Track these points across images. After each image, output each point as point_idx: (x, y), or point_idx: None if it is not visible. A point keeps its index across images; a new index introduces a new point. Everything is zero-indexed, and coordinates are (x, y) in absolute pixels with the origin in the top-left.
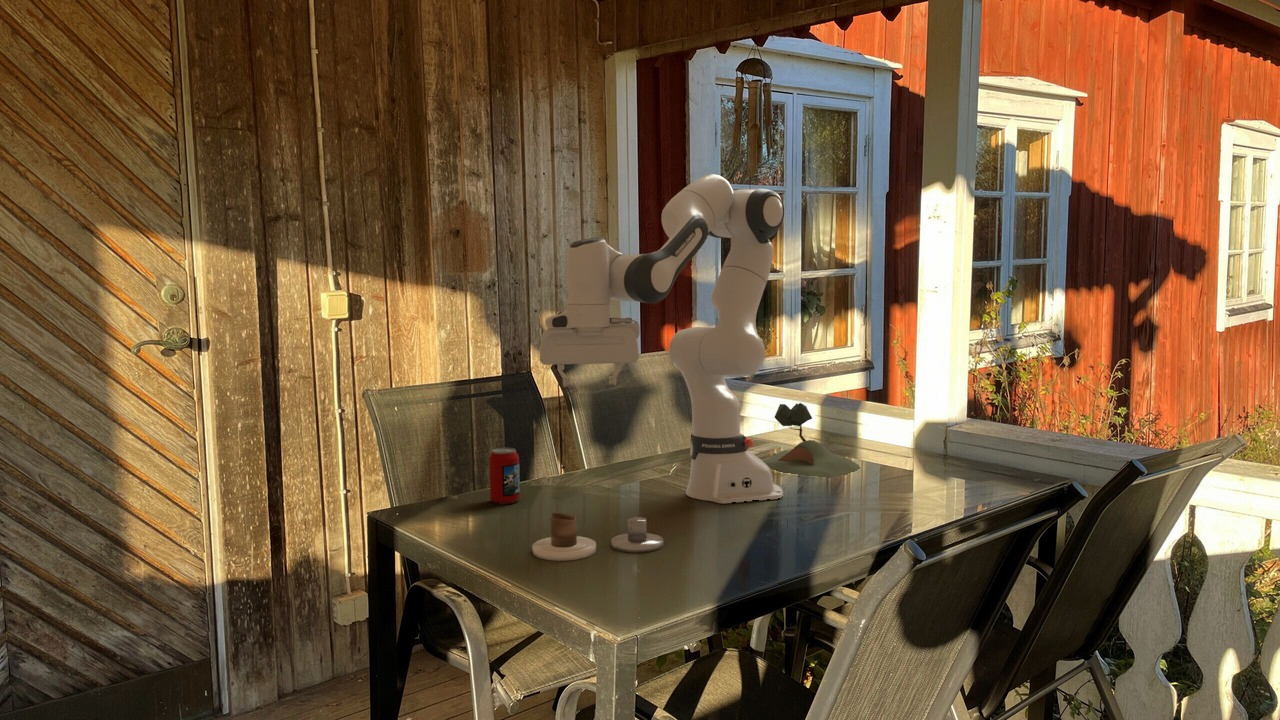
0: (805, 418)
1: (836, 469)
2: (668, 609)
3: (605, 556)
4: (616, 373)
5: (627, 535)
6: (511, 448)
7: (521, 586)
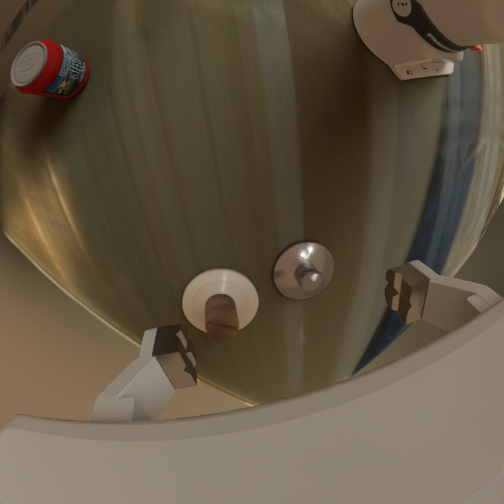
0: None
1: None
2: None
3: (270, 310)
4: (442, 323)
5: (292, 256)
6: (38, 43)
7: (209, 381)
